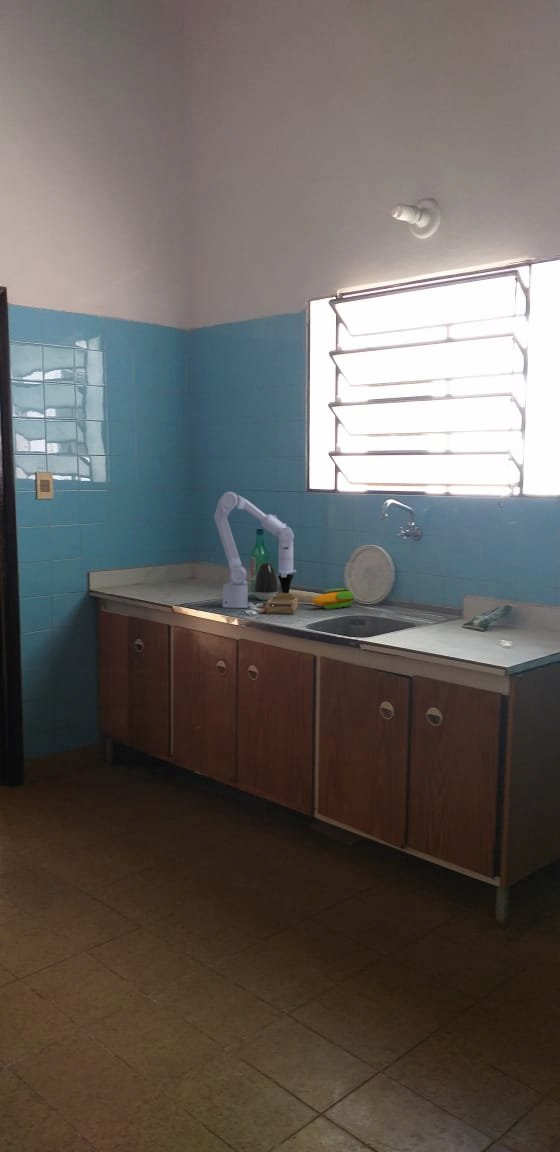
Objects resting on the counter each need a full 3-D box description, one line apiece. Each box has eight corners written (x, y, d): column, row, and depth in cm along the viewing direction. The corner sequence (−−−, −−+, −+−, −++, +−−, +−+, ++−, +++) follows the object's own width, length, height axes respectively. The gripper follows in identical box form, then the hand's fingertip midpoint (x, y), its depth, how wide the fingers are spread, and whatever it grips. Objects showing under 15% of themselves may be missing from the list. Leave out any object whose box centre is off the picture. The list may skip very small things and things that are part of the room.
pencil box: (293, 614, 334) (293, 603, 333) (266, 614, 335) (266, 602, 335) (297, 608, 350) (298, 597, 349) (271, 607, 351) (271, 596, 350)
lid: (290, 605, 334) (290, 598, 334) (270, 605, 335) (270, 597, 335) (294, 600, 348) (294, 592, 348) (274, 600, 349) (274, 592, 349)
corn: (358, 587, 353) (319, 591, 341) (359, 606, 354) (320, 611, 341) (345, 586, 359) (306, 590, 347) (346, 605, 359) (307, 610, 347)
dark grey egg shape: (280, 598, 377) (280, 561, 375) (277, 601, 366) (277, 563, 365) (255, 597, 378) (255, 560, 376) (252, 601, 367) (252, 563, 366)
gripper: (294, 560, 343) (294, 596, 344) (298, 557, 357) (297, 591, 359) (275, 560, 344) (275, 596, 345) (280, 556, 358) (280, 591, 360)
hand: (285, 593), depth 352 cm, fingers closed
